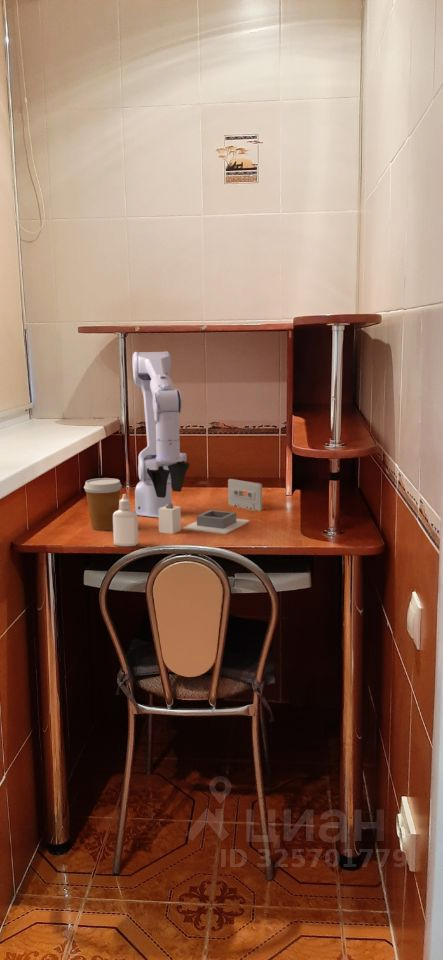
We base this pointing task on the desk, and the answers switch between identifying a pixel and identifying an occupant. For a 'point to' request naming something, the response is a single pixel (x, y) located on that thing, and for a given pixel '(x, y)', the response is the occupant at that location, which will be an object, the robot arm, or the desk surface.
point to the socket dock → (216, 522)
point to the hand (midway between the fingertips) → (169, 494)
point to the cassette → (240, 500)
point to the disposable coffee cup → (102, 501)
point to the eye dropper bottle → (125, 524)
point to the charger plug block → (169, 519)
